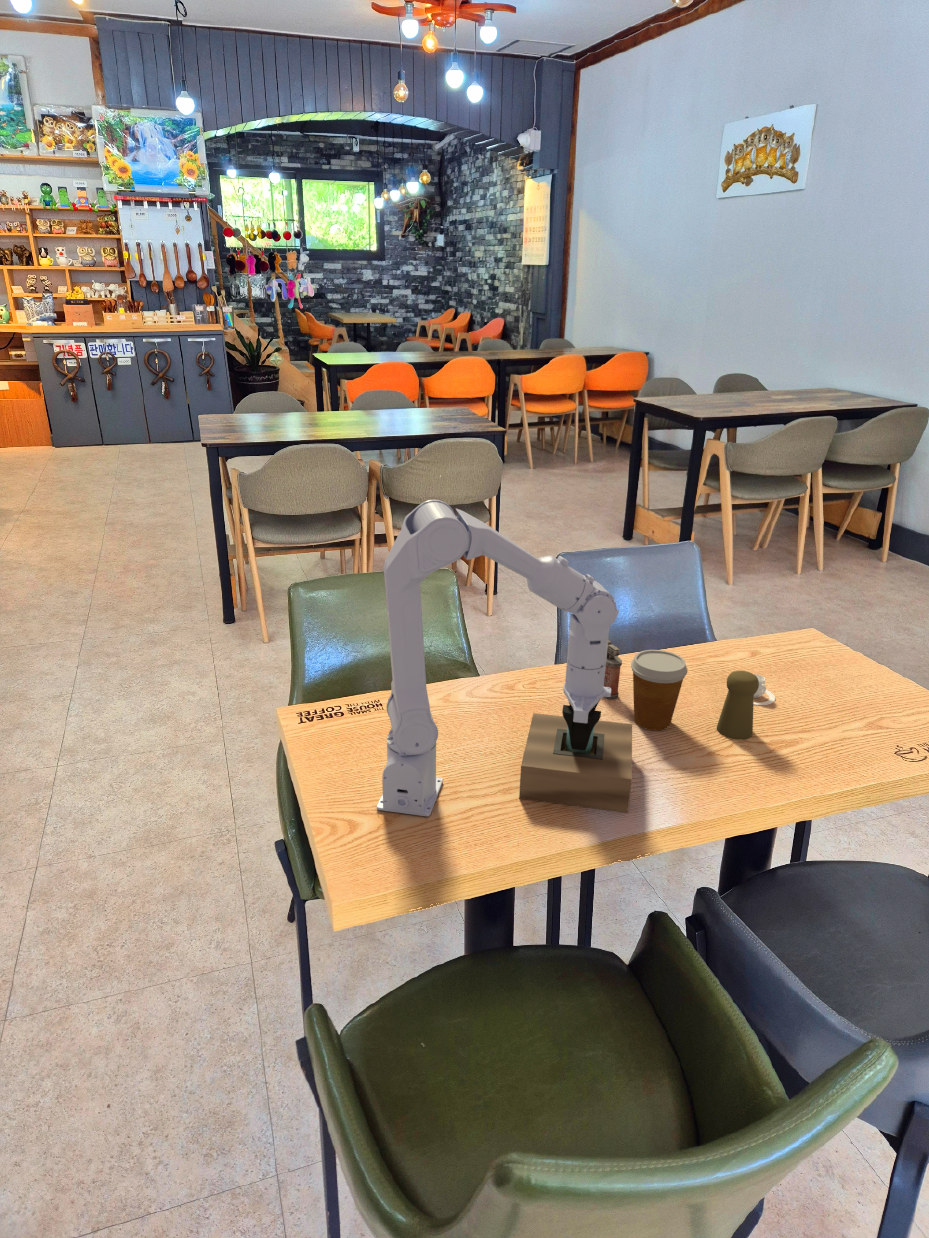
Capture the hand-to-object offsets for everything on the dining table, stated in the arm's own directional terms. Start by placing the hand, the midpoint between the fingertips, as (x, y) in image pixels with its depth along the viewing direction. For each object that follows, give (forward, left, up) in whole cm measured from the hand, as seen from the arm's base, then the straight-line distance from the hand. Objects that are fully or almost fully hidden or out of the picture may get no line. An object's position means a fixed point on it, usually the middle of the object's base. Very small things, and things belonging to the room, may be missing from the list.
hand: (579, 740), depth 126 cm
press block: (0, 0, -6) cm, 6 cm away
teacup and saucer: (+37, -32, -7) cm, 50 cm away
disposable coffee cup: (+20, -12, -7) cm, 24 cm away
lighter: (+30, -3, -7) cm, 31 cm away
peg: (0, 0, -1) cm, 1 cm away
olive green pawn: (+20, -26, -7) cm, 33 cm away
